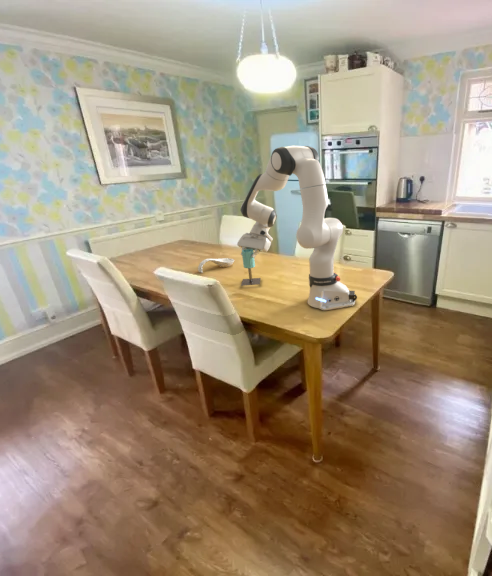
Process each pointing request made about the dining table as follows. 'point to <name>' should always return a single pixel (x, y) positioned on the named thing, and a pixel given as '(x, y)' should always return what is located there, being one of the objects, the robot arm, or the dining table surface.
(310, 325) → the dining table surface
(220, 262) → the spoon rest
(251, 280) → the stand
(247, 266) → the teal hollow cylinder
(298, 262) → the dining table surface
